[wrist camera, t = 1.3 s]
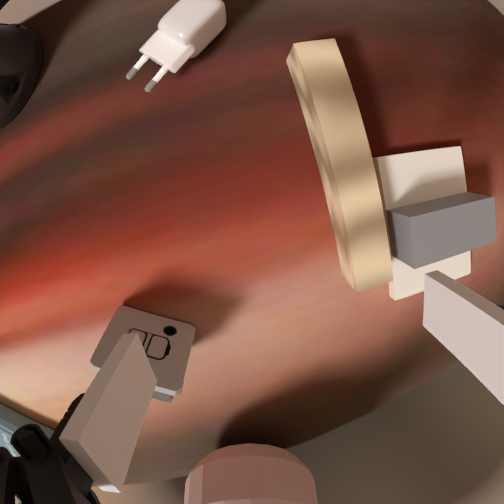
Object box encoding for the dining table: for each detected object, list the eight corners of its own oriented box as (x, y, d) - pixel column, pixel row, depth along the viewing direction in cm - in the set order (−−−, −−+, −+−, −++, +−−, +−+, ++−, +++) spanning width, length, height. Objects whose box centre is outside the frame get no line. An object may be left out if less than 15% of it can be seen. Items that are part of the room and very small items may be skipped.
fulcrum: (371, 158, 30) (400, 156, 24) (453, 146, 30) (488, 145, 23) (389, 295, 34) (415, 319, 28) (463, 269, 34) (494, 286, 27)
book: (9, 442, 41) (0, 455, 36) (-11, 393, 37) (-23, 407, 32) (95, 481, 43) (89, 498, 38) (83, 438, 39) (74, 457, 34)
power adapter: (163, 104, 28) (147, 90, 22) (130, 82, 27) (109, 66, 21) (233, 28, 26) (232, 1, 20) (198, 8, 25) (191, -19, 19)
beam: (285, 61, 27) (293, 43, 22) (321, 55, 27) (334, 38, 22) (342, 276, 33) (357, 292, 28) (374, 266, 33) (393, 280, 28)
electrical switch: (197, 324, 34) (183, 380, 25) (190, 357, 35) (176, 414, 27) (120, 302, 33) (86, 350, 24) (118, 336, 35) (89, 386, 26)
